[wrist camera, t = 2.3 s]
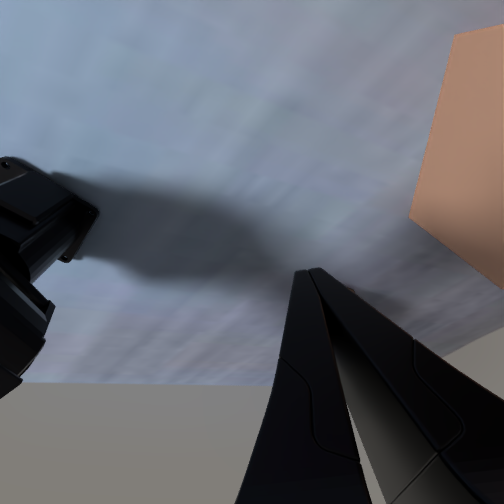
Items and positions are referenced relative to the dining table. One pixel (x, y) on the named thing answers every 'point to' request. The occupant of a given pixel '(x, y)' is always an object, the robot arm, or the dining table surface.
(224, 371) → the dining table surface
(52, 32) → the dining table surface
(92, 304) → the dining table surface
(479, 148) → the terracotta block
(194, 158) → the dining table surface
